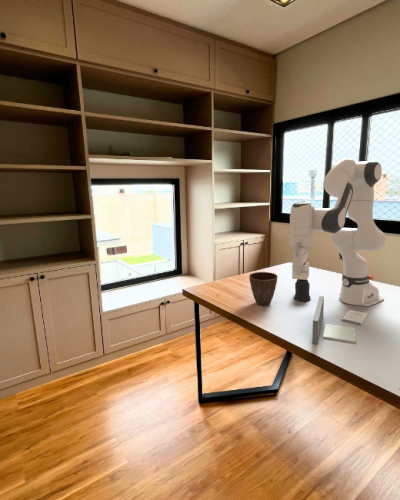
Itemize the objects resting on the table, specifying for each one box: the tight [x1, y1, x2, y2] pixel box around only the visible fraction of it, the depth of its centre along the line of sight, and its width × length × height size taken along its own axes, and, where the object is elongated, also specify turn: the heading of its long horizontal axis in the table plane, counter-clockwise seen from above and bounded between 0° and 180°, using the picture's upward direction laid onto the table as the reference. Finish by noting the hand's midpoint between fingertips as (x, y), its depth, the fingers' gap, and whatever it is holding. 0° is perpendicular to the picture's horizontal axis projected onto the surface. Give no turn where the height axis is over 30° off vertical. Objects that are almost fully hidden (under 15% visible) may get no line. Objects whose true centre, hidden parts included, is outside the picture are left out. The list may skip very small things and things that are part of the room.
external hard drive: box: [341, 309, 369, 326], centre depth 136 cm, size 2×8×12 cm
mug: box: [293, 279, 312, 303], centre depth 162 cm, size 12×9×11 cm
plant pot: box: [248, 271, 278, 307], centre depth 157 cm, size 15×15×16 cm
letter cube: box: [291, 261, 310, 280], centre depth 124 cm, size 6×6×6 cm
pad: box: [322, 323, 357, 344], centre depth 122 cm, size 12×12×1 cm
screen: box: [311, 295, 325, 345], centre depth 127 cm, size 28×2×10 cm, turn 153°
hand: (300, 272), depth 124 cm, fingers closed on letter cube, 6 cm apart
